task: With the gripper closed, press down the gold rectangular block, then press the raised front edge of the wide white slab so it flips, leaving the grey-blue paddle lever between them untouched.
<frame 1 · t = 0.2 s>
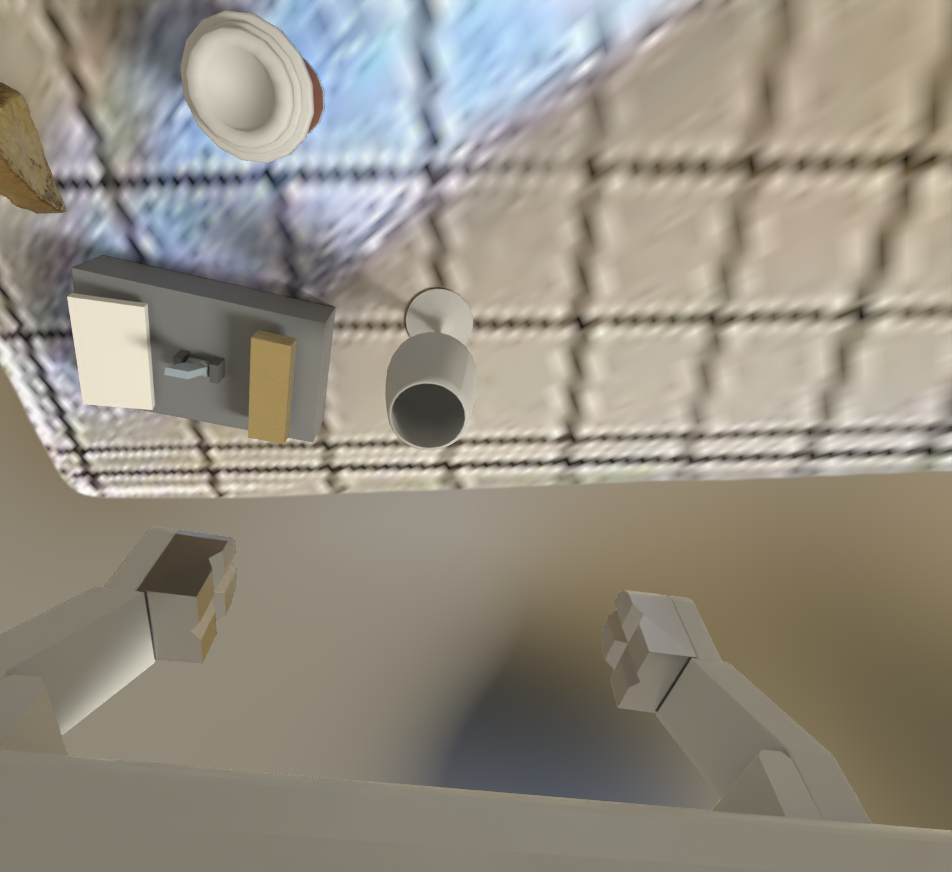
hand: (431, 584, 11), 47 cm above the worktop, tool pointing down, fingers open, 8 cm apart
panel: (222, 344, 58), on the worktop
rock: (26, 149, 49), on the worktop
wineglass: (439, 321, 58), on the worktop
coffee cup: (288, 95, 47), on the worktop
gold rectangular block: (271, 389, 53), point 8 cm above the worktop, slide at 0.0 cm
white slab: (114, 355, 51), point 7 cm above the worktop, hinge at -12.0°
paddle: (190, 369, 51), point 8 cm above the worktop, hinge at -18.0°
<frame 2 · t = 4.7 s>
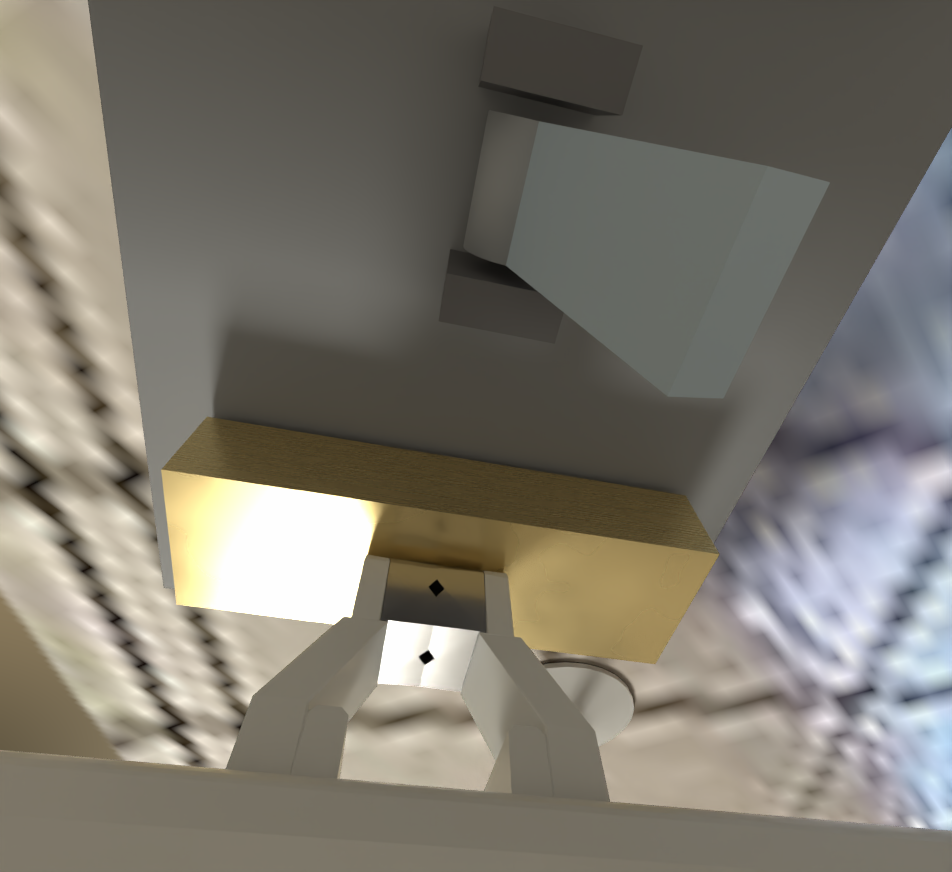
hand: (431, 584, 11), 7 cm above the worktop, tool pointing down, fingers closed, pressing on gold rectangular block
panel: (502, 164, 14), on the worktop
wineglass: (557, 705, 26), on the worktop
gold rectangular block: (443, 547, 12), point 6 cm above the worktop, slide at 1.3 cm, touching gripper
paddle: (585, 222, 7), point 8 cm above the worktop, hinge at -18.0°
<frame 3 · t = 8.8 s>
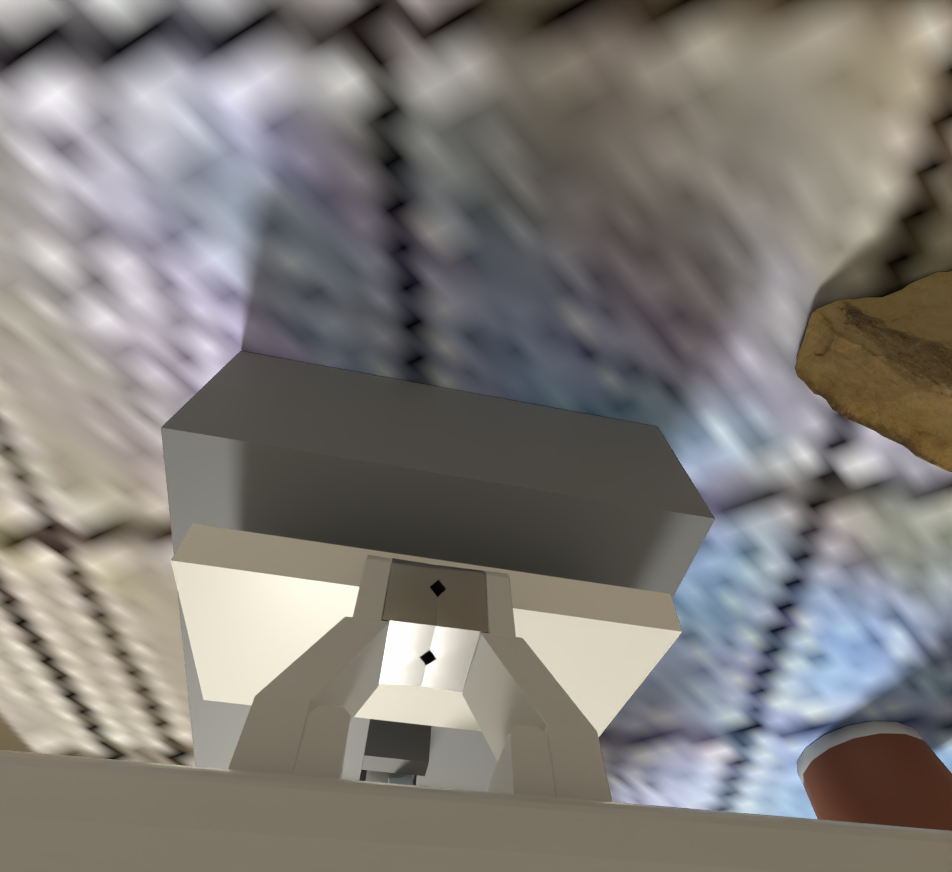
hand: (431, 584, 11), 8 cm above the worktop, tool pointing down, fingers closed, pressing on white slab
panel: (409, 625, 23), on the worktop
coffee cup: (856, 752, 29), on the worktop
white slab: (422, 650, 14), point 7 cm above the worktop, hinge at -8.2°, touching gripper
paddle: (404, 838, 16), point 8 cm above the worktop, hinge at -18.0°
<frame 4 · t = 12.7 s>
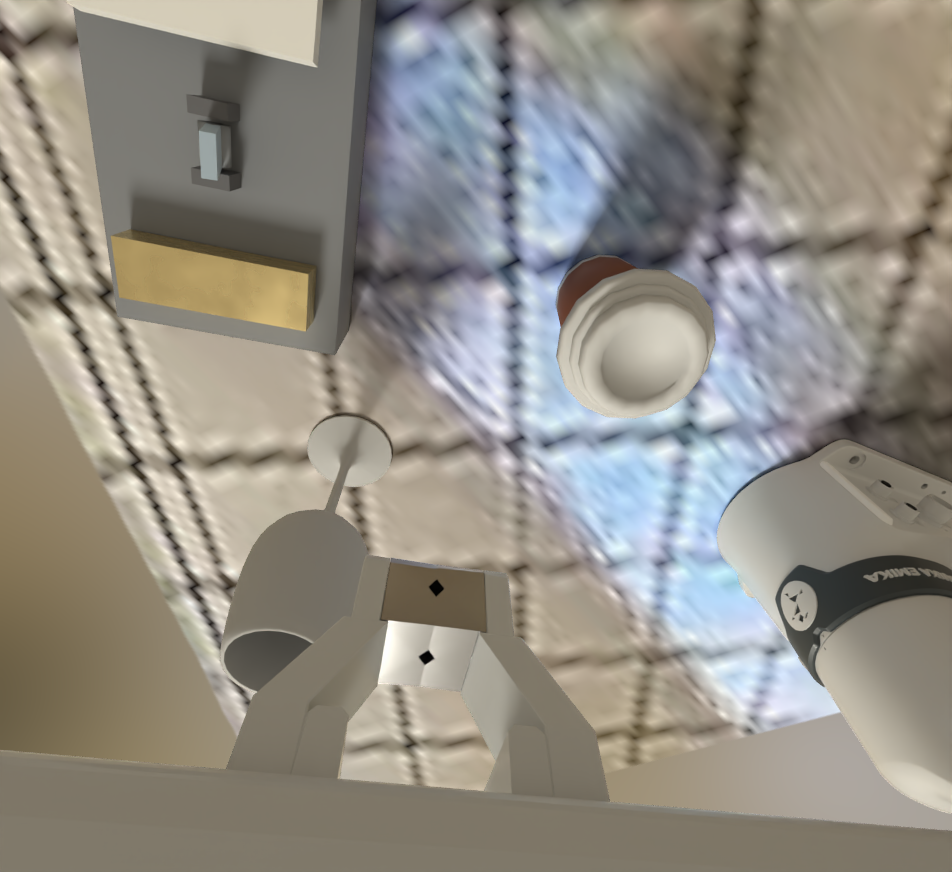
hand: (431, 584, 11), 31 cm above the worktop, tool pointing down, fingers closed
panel: (252, 140, 34), on the worktop
wineglass: (350, 450, 47), on the worktop
coffee cup: (598, 298, 40), on the worktop
gold rectangular block: (219, 281, 33), point 6 cm above the worktop, slide at 1.4 cm
paddle: (212, 148, 27), point 8 cm above the worktop, hinge at -18.0°
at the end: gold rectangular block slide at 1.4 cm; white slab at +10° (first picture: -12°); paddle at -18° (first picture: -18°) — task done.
